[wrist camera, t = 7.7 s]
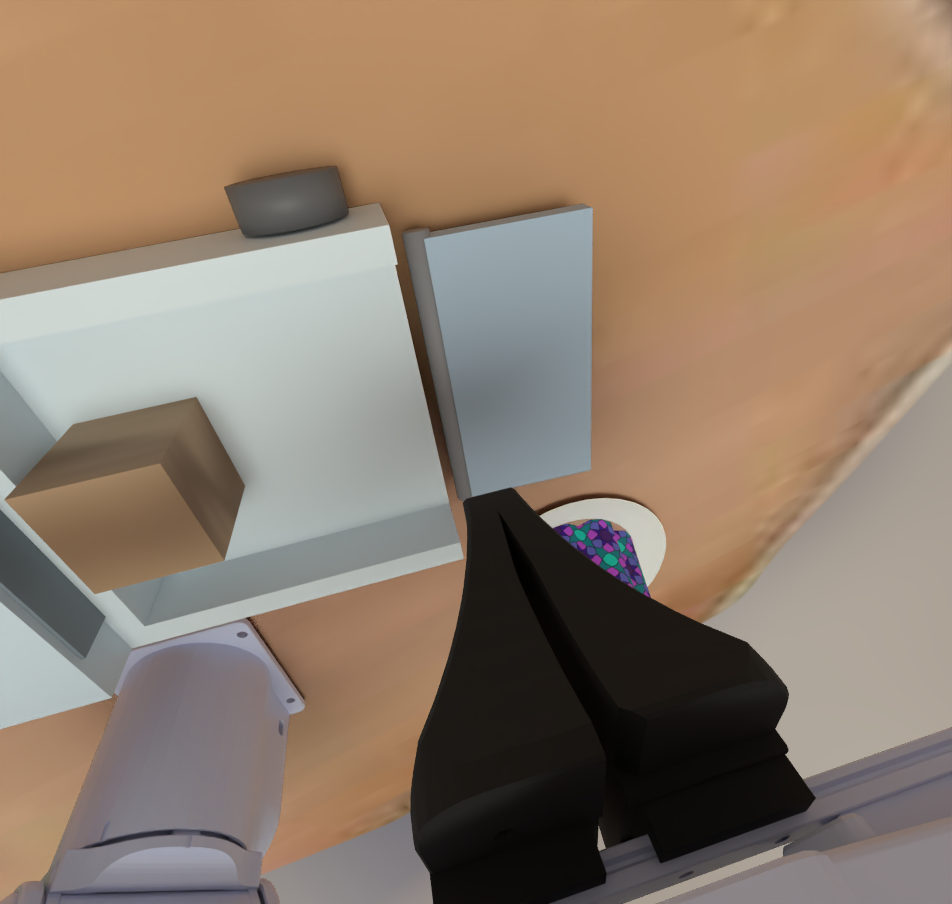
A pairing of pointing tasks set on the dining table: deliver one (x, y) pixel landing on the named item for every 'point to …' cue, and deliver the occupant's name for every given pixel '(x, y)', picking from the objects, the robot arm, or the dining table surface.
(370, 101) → the dining table surface
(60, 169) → the dining table surface
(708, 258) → the dining table surface
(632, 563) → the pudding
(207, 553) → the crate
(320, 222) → the ute bed
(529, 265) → the panel
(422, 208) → the dining table surface
